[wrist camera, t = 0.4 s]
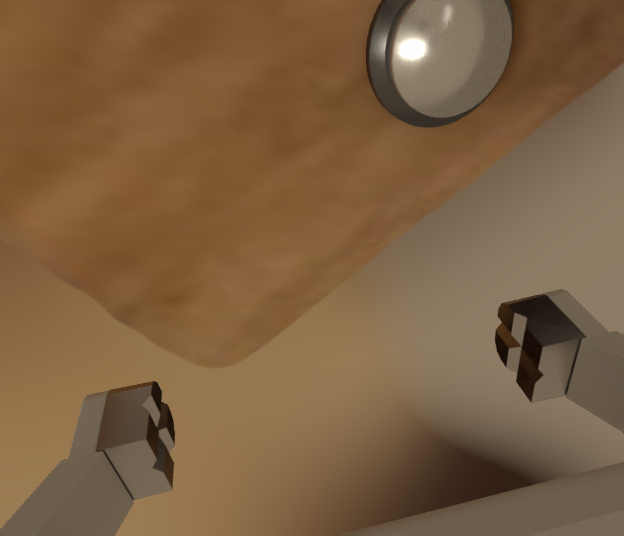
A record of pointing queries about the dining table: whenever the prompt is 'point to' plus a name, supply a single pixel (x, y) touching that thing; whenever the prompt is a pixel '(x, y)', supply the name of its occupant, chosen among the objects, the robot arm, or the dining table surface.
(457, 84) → the disc
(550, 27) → the dining table surface
